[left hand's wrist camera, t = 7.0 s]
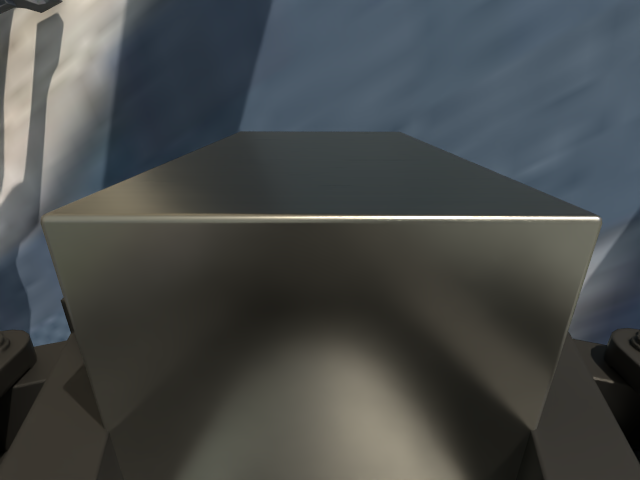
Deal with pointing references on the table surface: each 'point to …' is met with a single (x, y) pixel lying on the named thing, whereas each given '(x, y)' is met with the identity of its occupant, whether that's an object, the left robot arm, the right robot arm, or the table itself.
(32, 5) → the toy
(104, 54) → the table surface
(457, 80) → the table surface
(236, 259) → the box
